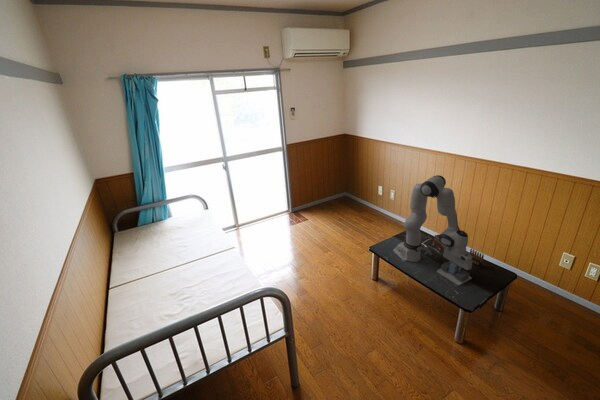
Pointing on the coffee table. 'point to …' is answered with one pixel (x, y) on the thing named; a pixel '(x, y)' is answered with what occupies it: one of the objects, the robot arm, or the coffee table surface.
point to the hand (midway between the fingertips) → (455, 268)
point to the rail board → (455, 278)
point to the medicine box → (437, 242)
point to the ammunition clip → (476, 258)
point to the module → (453, 268)
